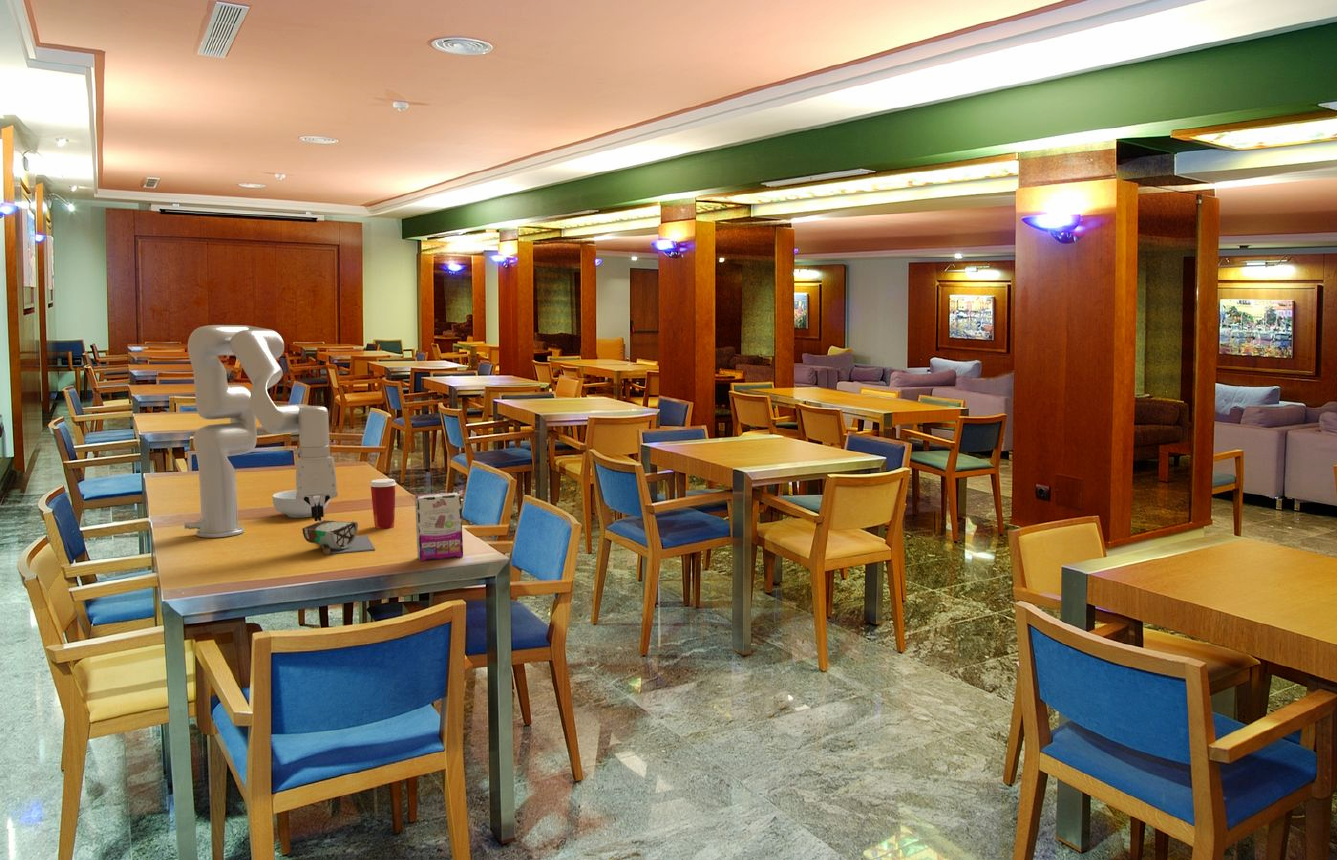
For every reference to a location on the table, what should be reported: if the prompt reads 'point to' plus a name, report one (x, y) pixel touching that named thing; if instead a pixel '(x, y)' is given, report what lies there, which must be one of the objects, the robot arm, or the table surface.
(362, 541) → the mat
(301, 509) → the cereal bowl
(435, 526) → the candy bar box
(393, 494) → the paper cup
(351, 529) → the food container
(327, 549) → the rail
